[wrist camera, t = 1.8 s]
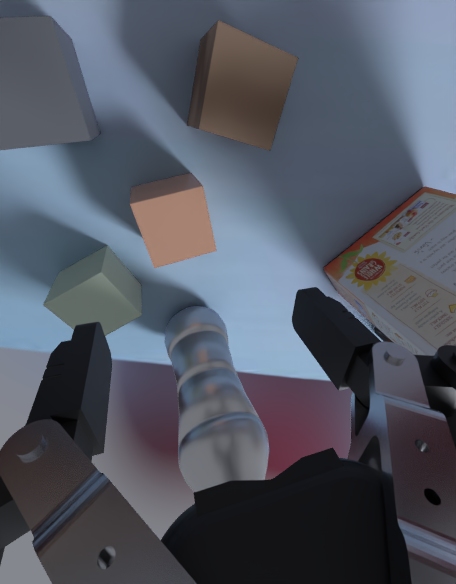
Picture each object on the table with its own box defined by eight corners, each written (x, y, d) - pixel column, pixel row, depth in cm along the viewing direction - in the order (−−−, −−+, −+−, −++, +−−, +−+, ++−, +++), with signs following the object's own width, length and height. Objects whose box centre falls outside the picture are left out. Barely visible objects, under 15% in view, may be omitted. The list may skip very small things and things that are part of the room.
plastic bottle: (227, 327, 33) (312, 532, 17) (177, 350, 33) (215, 579, 17) (209, 289, 29) (297, 507, 13) (151, 314, 29) (170, 568, 13)
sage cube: (58, 272, 24) (42, 304, 20) (107, 244, 23) (101, 272, 20) (98, 308, 27) (91, 343, 23) (141, 284, 27) (141, 315, 23)
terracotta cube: (131, 186, 22) (129, 204, 18) (191, 172, 22) (202, 186, 18) (151, 242, 24) (154, 268, 20) (203, 228, 25) (216, 250, 21)
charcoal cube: (-21, 42, 15) (-77, 19, 11) (71, 38, 16) (50, 16, 12) (24, 141, 18) (-8, 151, 14) (100, 134, 19) (91, 140, 15)
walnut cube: (200, 39, 18) (218, 20, 14) (265, 68, 20) (298, 57, 16) (186, 125, 20) (199, 128, 16) (246, 143, 22) (270, 150, 18)
